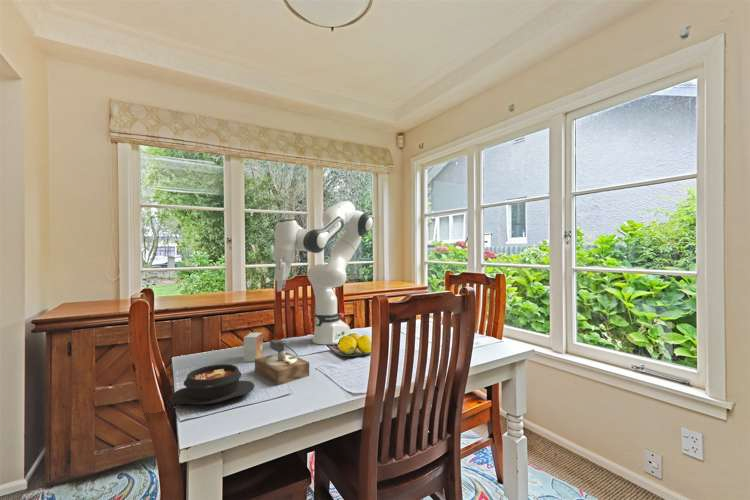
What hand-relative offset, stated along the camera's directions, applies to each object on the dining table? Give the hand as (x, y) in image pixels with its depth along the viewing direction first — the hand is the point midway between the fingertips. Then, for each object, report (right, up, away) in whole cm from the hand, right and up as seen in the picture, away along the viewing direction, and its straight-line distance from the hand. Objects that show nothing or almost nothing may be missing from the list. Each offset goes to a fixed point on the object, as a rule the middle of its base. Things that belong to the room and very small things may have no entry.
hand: (280, 289), depth 145 cm
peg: (+4, -25, -12) cm, 28 cm away
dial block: (+4, -31, -12) cm, 33 cm away
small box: (-13, -31, +5) cm, 34 cm away
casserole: (-13, -31, -33) cm, 47 cm away
